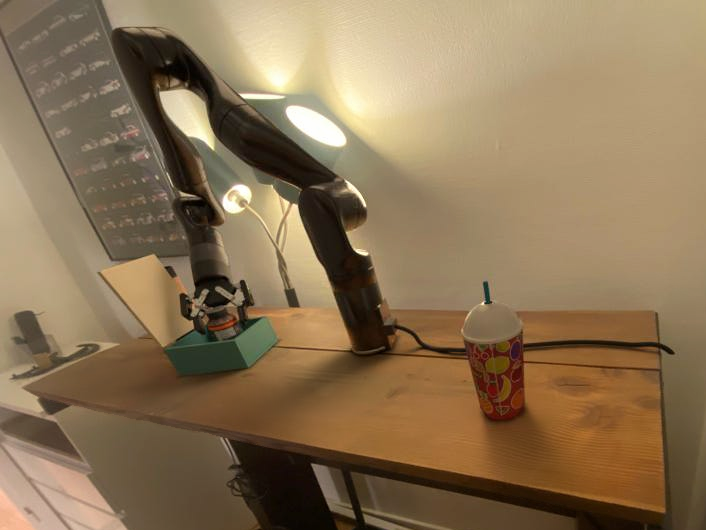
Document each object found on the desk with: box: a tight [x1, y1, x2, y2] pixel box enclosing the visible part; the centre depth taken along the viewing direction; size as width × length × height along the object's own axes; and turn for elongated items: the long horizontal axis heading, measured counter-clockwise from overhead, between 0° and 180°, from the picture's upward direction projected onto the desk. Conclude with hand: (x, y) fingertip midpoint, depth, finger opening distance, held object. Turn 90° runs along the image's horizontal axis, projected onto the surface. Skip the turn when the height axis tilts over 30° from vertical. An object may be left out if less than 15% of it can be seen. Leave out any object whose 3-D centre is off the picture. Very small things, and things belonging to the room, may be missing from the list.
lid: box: [96, 253, 205, 349], centre depth 83 cm, size 18×14×5 cm
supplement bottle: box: [205, 306, 243, 342], centre depth 86 cm, size 6×6×11 cm
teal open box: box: [163, 315, 279, 377], centre depth 88 cm, size 17×14×7 cm
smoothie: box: [460, 280, 526, 421], centre depth 52 cm, size 8×8×20 cm
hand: (223, 328), depth 84 cm, fingers open, 8 cm apart
